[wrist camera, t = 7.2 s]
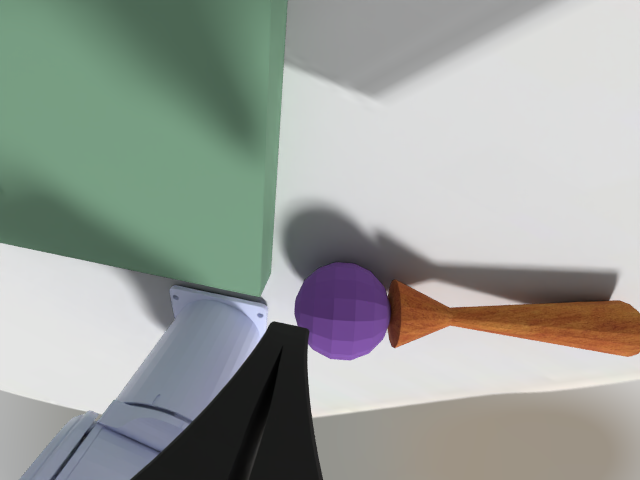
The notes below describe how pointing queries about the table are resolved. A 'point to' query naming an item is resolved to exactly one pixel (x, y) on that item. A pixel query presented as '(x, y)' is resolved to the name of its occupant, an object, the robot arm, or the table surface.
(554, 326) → the kendama
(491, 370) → the table surface
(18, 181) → the putting mat
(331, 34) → the table surface
